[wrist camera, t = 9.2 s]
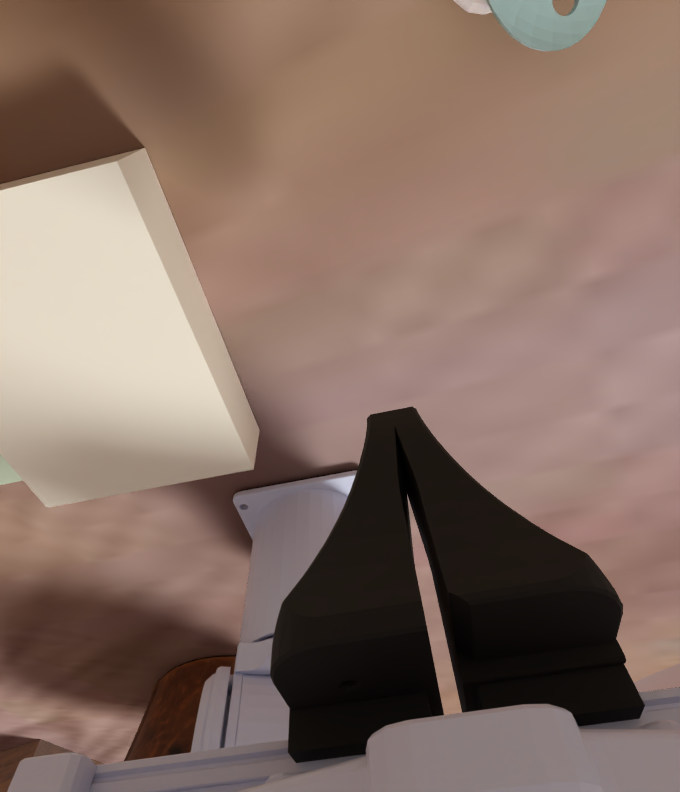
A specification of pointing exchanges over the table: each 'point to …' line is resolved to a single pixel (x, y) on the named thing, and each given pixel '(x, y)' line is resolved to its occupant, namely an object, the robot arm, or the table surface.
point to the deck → (109, 341)
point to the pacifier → (540, 20)
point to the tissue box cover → (6, 762)
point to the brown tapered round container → (174, 710)
